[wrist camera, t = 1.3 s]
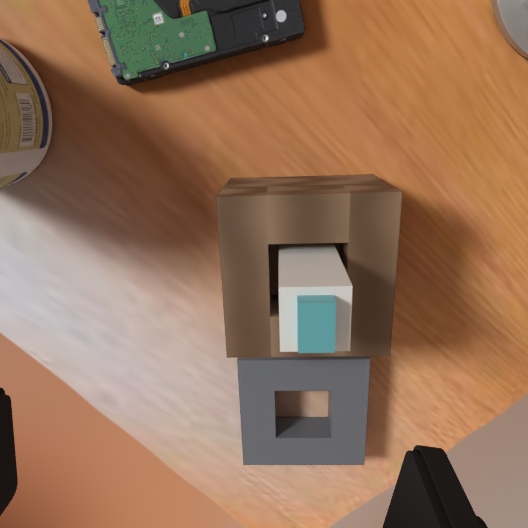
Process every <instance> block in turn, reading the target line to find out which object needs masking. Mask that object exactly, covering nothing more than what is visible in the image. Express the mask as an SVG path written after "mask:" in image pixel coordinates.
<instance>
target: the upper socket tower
mask: <svg viewBox="0 0 528 528" xmlns="http://www.w3.org/2000/svg"><path fill="white" fill-rule="evenodd" d="M401 202H402V191H400V190H398V189H397V188H395V187H393V186H391V185H390V184H388V183H386V182H385V181H383V180H381V179H379V178H378V177H376V176H374V175H373V174H371V175H335V176H299V177H263V178H231V179H230V180H229V181H228V182H227V184H226V185H225V186H224V187H223V189H222V190H221V191H220V192H219V194H218V195H217V196H216V205H217V220H218V234H219V249H220V263H221V278H222V292H223V307H224V321H225V336H226V350H227V357H324V356H390V349H391V336H392V323H393V309H394V296H395V282H396V269H397V256H398V242H399V229H400V216H401ZM305 243H334V245H335V248H336V250H337V252H338V254H339V257H340V259H341V261H342V263H343V266H344V268H345V270H346V272H347V275H348V277H349V279H350V281H351V284H352V286H353V288H352V314H351V339H350V351H335V353H298V352H280V332H279V244H305Z"/></svg>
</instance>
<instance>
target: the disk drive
mask: <svg viewBox="0 0 528 528" xmlns="http://www.w3.org/2000/svg"><path fill="white" fill-rule="evenodd" d="M88 3H89V5H90V9H91V12H92V13H94V14H95V16H96V18H95V20H96V23H97V26H98V29H99V33H101V34H102V36H101V39H102V41H103V44H104V47H105V50H106V53H107V56H108V59H109V62H110V65H111V66H112V68H113V69H111V71H112V73H113V74H114V77H116V79H117V82H118V83H119V84H121V85H131V84H134V83H138V82H142V81H146V80H152V79H155V78H159V77H162V76H164V75H168V74H171V73H174V72H178V71H181V70H186V69H189V68H192V67H196V66H200V65H204V64H207V63H211V62H214V61H218V60H222V59H225V58H228V57H232V56H235V55H239V54H243V53H246V52H250V51H254V50H258V49H261V48H265V47H271V46H275V45H278V44H282V43H286V42H287V41H291V40H295V39H296V38H301V37H302V36H303V34H304V31H305V27H304V20H303V16H302V11H301V5H300V0H88Z"/></svg>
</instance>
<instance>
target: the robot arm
mask: <svg viewBox="0 0 528 528" xmlns="http://www.w3.org/2000/svg"><path fill="white" fill-rule="evenodd" d="M491 1H492V6H493V11H494V16H495V19H496V21H497V24H498V26H499V29H500V31H501V33H502V34H503V36H504V37H505V39H506V40H507V42H508V43H509V44H510V45H511V46H512V47H513V48H514V49H515V50H516V51H517V52H518V53H519V54H520V55H522V56H524V57H526V58H527V59H528V0H491ZM16 489H17V469H16V457H15V444H14V432H13V420H12V408H11V399H10V397H9V396H8V395H5V391H4V390H3V388H0V515H1V514H2V513H3V511H4V510H5V508H6V507H7V506H8V504H9V503H10V501H11V500H12V498H13V496H14V494H15V492H16ZM383 528H488V527H487V526H486V524H485V523H484V521H483V520H482V519H481V518H480V517H478V516H476V515H475V513H474V511H473V509H472V506H471V504H470V503H469V500H468V498H467V496H466V494H465V492H464V490H463V488H462V486H461V484H460V482H459V480H458V478H457V476H456V474H455V472H454V469H453V467H452V465H451V464H450V461H449V460H448V457H447V455H446V453H445V452H444V450H443V449H441V448H435V447H427V446H420V445H416V446H415V447H414V450H413V451H407V452H406V455H405V458H404V461H403V464H402V467H401V470H400V473H399V477H398V480H397V483H396V486H395V489H394V493H393V496H392V499H391V503H390V505H389V509H388V512H387V515H386V518H385V521H384V525H383Z"/></svg>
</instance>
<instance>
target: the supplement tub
mask: <svg viewBox="0 0 528 528" xmlns="http://www.w3.org/2000/svg"><path fill="white" fill-rule="evenodd" d="M51 134H52V111H51V105H50V101H49V98H48V95H47V92H46V89H45V87H44V85H43V83H42V81H41V79H40V77H39V75H38V74H37V72H36V71H35V69H34V68H33V66H32V65H31V64H30V62H29V61H28V60H27V59H26V58H25V56H24V55H23V54H22V53H21V52H19V51H18V50H17V49H16V48H15V47H13V46H12V45H11V44H9V43H8V42H6V41H5V40H3V39H1V38H0V187H4V186H8V185H11V184H13V183H16V182H18V181H19V180H21V179H23V178H24V177H26V176H27V175H28V174H30V173H31V172H32V171H33V170H34V169H35V168H36V167H37V166H38V165H39V164H40V162H41V161H42V159H43V158H44V156H45V154H46V152H47V150H48V147H49V144H50V140H51Z"/></svg>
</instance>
